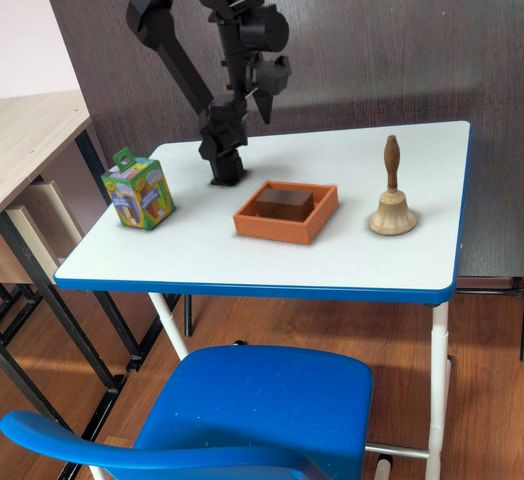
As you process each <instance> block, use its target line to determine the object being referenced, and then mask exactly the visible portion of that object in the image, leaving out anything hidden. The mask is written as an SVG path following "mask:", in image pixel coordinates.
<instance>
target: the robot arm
mask: <svg viewBox="0 0 524 480" xmlns="http://www.w3.org/2000/svg"><path fill="white" fill-rule="evenodd" d="M198 1H199V3H200V4H201V5H202V6H203V7H204V8H207V9H210V10H211V12H210V14H209V16H208V17H207V22H208V23H209V24H216V27H217V31H218V36H219V39H220V45H221V48H222V53H223V58H222V59H220V66H221V67H222V68H226V70H227V75H228V80H229V82H226V84H225V88H226V90H227V91H233V93H220V94H218V96H216V97H215V96H214V94H213V92H212V91H211V89H210V88H209V86H208V84H207V83H206V82H205V79H204V78H203V77H202V75H201V74H200V72H199V71H198V69H197V67H196V66H195V64H194V63H193V61H192V60H191V58H190V57H189V55H188V53H187V51H186V50H185V48H184V47H183V45H182V44H181V42H180V41H179V39H178V37H177V35H176V24H175V19H174V16H173V14H172V12H171V11H172V8H173V6H174V5H173V4H174V0H128V4H127V7H126V13H125V23H126V25H127V27H128V28H129V30H130V31H131V32H132V33H133V35H134V36H135V37H136V39H137V40H138V41H139V42H140V43H141V44H142V45H143V46H145V47H146V48H148V49H150V50H152V51H154V52H155V53H156V54H157V55H158V57H159V59H160V60H161V62H162V63H163V64H164V66H165V68H166V69H167V71H168V73H169V74H170V75H171V77H172V78H173V80H174V81H175V84H176V85H177V86H178V88H179V90H181V92H182V94H183V95H184V97H185V99H186V100H187V102H188V103H189V105H190V106H191V109H193V111H194V112H195V114H196V116H197V123H198V124H197V125H198V132H199V135H200V136H201V138H202V140H201V142H200V145H199V147H198V150H197V152H198V154H199V155H200V157H201V159H202V160H204V161H208V162H209V165H210V169H211V173H212V176H213V178H212V179H211V180H210V184H211V185H220V186H229V187H230V186H231V187H234V186H235V185H236V184H237V183H239V182H240V180H241V179H243V178H244V177H245V175H247V173H248V170H247V169H245V168H244V164H243V160H242V156H240V152H239V148H240V147H242V146H243V147H247V146H249V140H248V139H249V137H248V131H247V123H246V119H247V116H248V115H249V113H250V110H248V101H247V98H248V97H249V96H252V98H253V100H254V103H255V104H256V107H257V109H258V112H259V114H260V117H261V119H262V121H263V123H264V125H268V126H269V125H271V123H272V114H273V104H274V98H275V97H274V96H279V95H280V94H281V92H282V91H284V90H286V89H287V87H288V83H289V82H288V81H289V77H291V75H292V74H293V71H292V69H291V68H292V67H291V63H290V59H289V56H288V55H286V54H283V53H280V52H282V51H283V50H284V49H285V48H286V46H287V44H288V42H289V37H290V25H289V22H288V21H287V18H286V17H285V15H284V14H283V13H282V12H281V11H278V7H277V4H276V3H273V2H272V3H267V4H266V0H198ZM263 53H277V54H278V53H280V54H279V55H278V56H277V57H276V58H275V59H270V60H265V59H264V55H263Z"/></svg>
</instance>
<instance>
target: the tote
mask: <svg viewBox="0 0 524 480" xmlns="http://www.w3.org/2000/svg"><path fill="white" fill-rule="evenodd" d="M266 188H269V189H280V190H291V191H302V192H312V193H313V200H314V206H315V209H314V210H313V212H312V213H311V214H310V216H309V217H308V218H307V219H306V221H305V222H304V223H301V222H293V221H285V220H276V219H268V218H260V217H259V214H258V209H257V205H256V201H255V200H256V199H257V198H258V197H259V196H260V195H261V194H262V193H263V192H264V190H265V189H266ZM339 206H340V202H339V194H338V186H337V185H329V184H328V185H327V184H314V183H303V182H302V183H301V182H292V181H281V180H279V181H278V180H265V181H264V182H263V183H262V184H261V186H259V188H257V190H256V191H255V192H254V193H253V194H252V195H250V197H249V198H248V199H247V200H246V201H245V203H243V205H242V206H241V207H240V208H239V209H238V210H237V211H236V212H235V213H234V214H233V215H232V219H233V225H234V228H235V230H236V235H238V236H244V237H252V238H258V239H264V240H273V241H279V242H286V243H293V244H298V245H299V244H300V245H307V246H310V244H311V243H312V242H313V240H314V239H315V237H316V236H317V235H318V234H319V232H320V231H321V230H322V228H324V226H325V224H326V223H327V222H328V220H329V219H330V218H331V216H332V215H333V214H334V212H335V211H336V210H337V209H338V207H339Z"/></svg>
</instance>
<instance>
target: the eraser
mask: <svg viewBox="0 0 524 480" xmlns="http://www.w3.org/2000/svg"><path fill="white" fill-rule="evenodd" d="M255 201H256V205H257V209H258V214H259V217H260V218H268V219H276V220H285V221H293V222H301V223H304V222H305V221H306V219H307V218H308V217H309V216H310V214H311V213H312V212H313V210H314V209H315V206H314V200H313V193H312V192H302V191H291V190H280V189H269V188H266V189H265V190H264V192H263V193H262V194H261V195H260V196H259V197H258V198H257V199H256V200H255Z"/></svg>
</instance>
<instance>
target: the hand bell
mask: <svg viewBox="0 0 524 480" xmlns="http://www.w3.org/2000/svg"><path fill="white" fill-rule="evenodd" d="M383 161H384V166H385V170H386V174H387V185H386V186H387V190H385V191H384V192H382V193H381V194H380V196H379V199H378V207H377V211H376V212H375V213H374V214H373V215H372V216H371V218H370V220H369V228H370V229H371V231H373V232H374V233H375V234H380V235H383V236H397V235H402V234H406V233H407V232H409V231H411V230H412V229H414V228H415V227H416V225H417V224H418V218H417V215H415V213H414V212H413V211H412V210H410V208H409V207H408V203H407V202H408V201H407V195H406V193H405V192H404V191H402V190H400V189H398V187H399V186H398V171H399V166H400V163H401V149H400V144H399V143H398V140H397V136H396V134H395V135H394V134H390V135H389V136H387V139H386V143H385V146H384V150H383Z"/></svg>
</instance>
